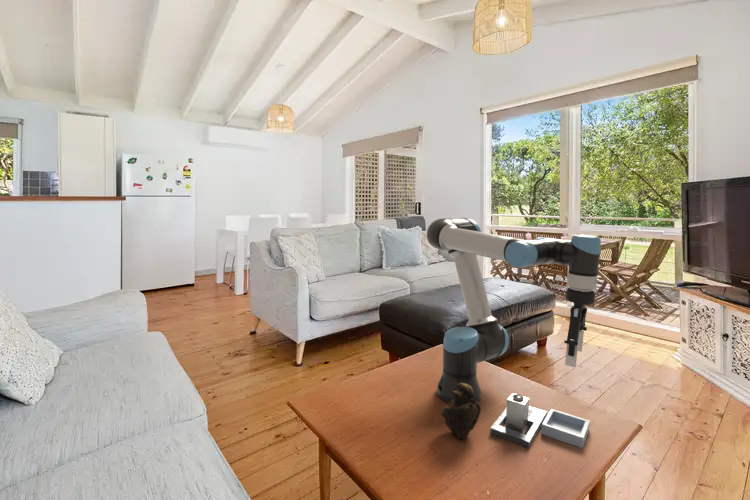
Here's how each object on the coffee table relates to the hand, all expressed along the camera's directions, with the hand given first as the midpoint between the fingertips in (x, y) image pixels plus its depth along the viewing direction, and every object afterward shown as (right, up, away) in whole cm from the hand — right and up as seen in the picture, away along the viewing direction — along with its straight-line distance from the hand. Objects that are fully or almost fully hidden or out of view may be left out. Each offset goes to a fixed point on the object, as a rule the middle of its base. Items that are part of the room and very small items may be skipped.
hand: (573, 357), depth 115 cm
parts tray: (-2, -22, 0) cm, 22 cm away
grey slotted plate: (-15, -22, +4) cm, 27 cm away
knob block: (-17, -22, +1) cm, 28 cm away
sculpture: (-34, -23, -2) cm, 41 cm away
